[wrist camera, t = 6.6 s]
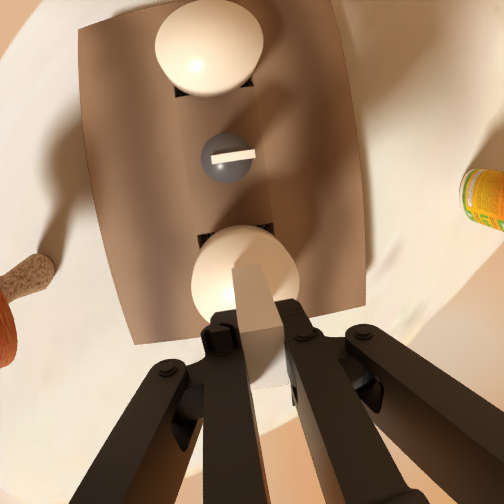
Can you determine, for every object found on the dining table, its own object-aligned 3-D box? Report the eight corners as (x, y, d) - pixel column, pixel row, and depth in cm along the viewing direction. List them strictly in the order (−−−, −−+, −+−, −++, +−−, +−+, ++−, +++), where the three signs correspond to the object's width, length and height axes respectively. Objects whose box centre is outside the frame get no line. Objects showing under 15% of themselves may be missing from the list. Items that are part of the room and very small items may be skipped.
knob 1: (174, 112, 20) (159, 97, 14) (165, 40, 18) (152, 8, 13) (258, 100, 20) (270, 81, 15) (246, 29, 18) (255, -6, 13)
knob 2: (205, 302, 23) (203, 341, 18) (189, 223, 21) (180, 244, 16) (284, 288, 23) (303, 324, 18) (275, 210, 21) (294, 226, 16)
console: (142, 325, 24) (134, 344, 22) (92, 42, 17) (78, 29, 14) (350, 290, 26) (365, 305, 23) (316, 10, 18) (328, -6, 16)
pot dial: (208, 180, 19) (204, 187, 14) (202, 143, 18) (196, 136, 13) (247, 174, 19) (258, 179, 14) (242, 137, 18) (251, 128, 13)
